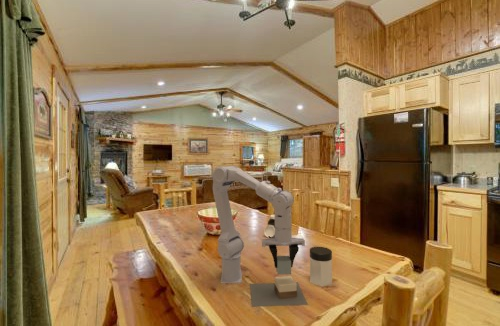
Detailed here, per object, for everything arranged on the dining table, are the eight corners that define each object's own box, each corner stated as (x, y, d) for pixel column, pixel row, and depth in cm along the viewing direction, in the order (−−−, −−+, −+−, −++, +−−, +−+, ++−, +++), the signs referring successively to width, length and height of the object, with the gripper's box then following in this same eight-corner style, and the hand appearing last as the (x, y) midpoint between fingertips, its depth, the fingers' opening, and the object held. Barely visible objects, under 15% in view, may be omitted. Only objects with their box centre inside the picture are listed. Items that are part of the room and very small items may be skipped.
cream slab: (274, 283, 88) (274, 277, 88) (291, 281, 89) (291, 275, 89) (279, 292, 82) (279, 285, 82) (296, 290, 83) (296, 284, 83)
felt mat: (249, 284, 92) (249, 283, 92) (297, 283, 93) (297, 282, 93) (251, 307, 78) (251, 306, 78) (308, 305, 79) (308, 304, 79)
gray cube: (276, 268, 87) (275, 255, 87) (288, 268, 87) (288, 255, 87) (277, 274, 82) (277, 261, 82) (291, 274, 83) (291, 261, 82)
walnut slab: (274, 289, 88) (274, 283, 88) (290, 287, 89) (290, 281, 89) (279, 299, 82) (279, 292, 82) (296, 296, 83) (296, 290, 83)
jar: (336, 281, 94) (336, 250, 94) (326, 290, 88) (326, 256, 88) (315, 274, 100) (315, 244, 100) (304, 281, 94) (304, 250, 94)
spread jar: (283, 232, 155) (283, 214, 154) (284, 238, 144) (284, 218, 143) (264, 232, 156) (264, 214, 156) (263, 238, 145) (263, 218, 144)
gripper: (262, 230, 80) (263, 272, 81) (307, 229, 81) (307, 271, 81) (261, 224, 87) (261, 263, 88) (301, 224, 88) (302, 262, 88)
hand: (283, 266), depth 85 cm, fingers closed on gray cube, 4 cm apart
